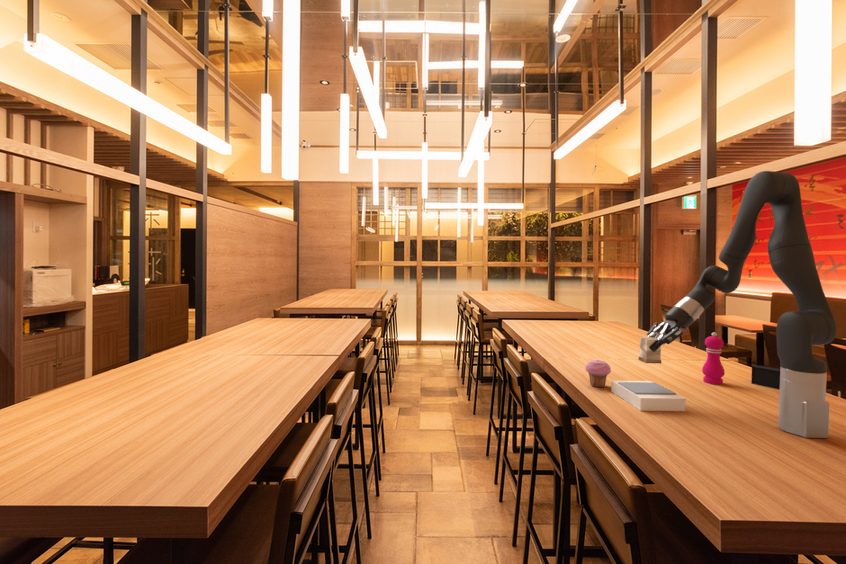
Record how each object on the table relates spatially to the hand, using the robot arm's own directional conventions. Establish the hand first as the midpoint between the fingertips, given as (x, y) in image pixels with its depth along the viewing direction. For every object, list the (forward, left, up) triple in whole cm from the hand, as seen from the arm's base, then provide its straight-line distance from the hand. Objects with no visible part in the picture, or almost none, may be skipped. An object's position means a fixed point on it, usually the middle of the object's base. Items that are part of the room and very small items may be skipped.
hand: (647, 348), depth 135 cm
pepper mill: (+22, -38, -18) cm, 48 cm away
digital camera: (+18, -58, -18) cm, 63 cm away
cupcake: (+16, +10, -18) cm, 26 cm away
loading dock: (-1, +1, -18) cm, 18 cm away
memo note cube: (0, -1, -5) cm, 5 cm away
